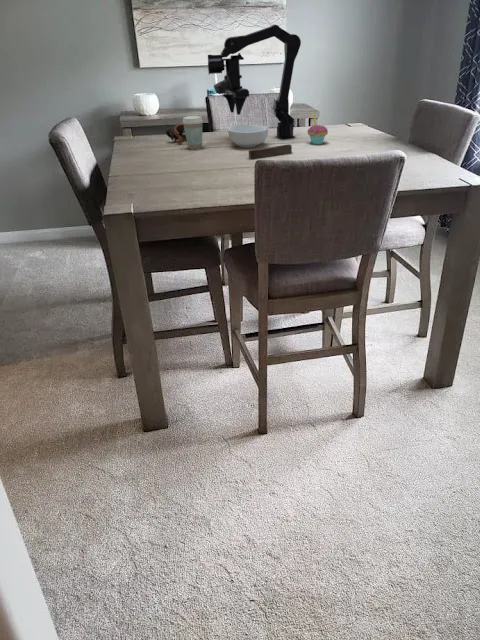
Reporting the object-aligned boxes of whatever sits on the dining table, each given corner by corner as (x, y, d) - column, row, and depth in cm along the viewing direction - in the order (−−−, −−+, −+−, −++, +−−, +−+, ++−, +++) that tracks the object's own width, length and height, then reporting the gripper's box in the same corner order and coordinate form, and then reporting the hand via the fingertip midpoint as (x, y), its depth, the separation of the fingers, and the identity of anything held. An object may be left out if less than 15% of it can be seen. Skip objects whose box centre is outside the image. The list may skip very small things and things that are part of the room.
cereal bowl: (254, 151, 202) (253, 133, 198) (221, 148, 209) (220, 130, 205) (275, 143, 214) (275, 125, 210) (243, 140, 221) (242, 123, 217)
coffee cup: (188, 151, 207) (184, 119, 200) (183, 147, 213) (179, 116, 206) (207, 148, 209) (205, 117, 202) (202, 144, 216) (199, 114, 209)
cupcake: (304, 144, 210) (305, 113, 203) (310, 140, 216) (311, 110, 210) (324, 145, 207) (325, 114, 200) (329, 141, 214) (331, 111, 207)
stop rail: (289, 152, 200) (289, 144, 198) (291, 153, 198) (291, 145, 196) (248, 158, 193) (248, 150, 192) (250, 159, 192) (250, 151, 190)
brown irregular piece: (192, 140, 227) (194, 124, 220) (189, 154, 222) (191, 138, 215) (166, 133, 225) (167, 118, 218) (162, 147, 220) (163, 132, 213)
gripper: (207, 72, 211) (210, 112, 219) (223, 75, 196) (226, 118, 205) (231, 70, 214) (233, 110, 223) (248, 73, 200) (250, 115, 209)
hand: (235, 113), depth 215 cm, fingers open, 7 cm apart
